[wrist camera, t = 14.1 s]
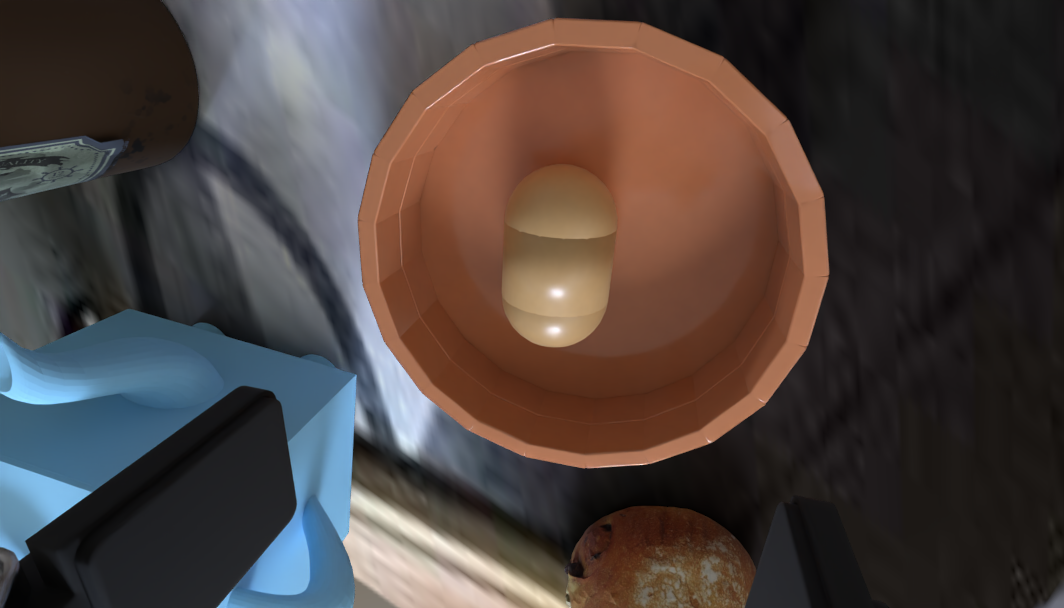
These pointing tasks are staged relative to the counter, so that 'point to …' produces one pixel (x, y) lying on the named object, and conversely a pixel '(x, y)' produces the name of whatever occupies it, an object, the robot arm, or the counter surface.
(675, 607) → the bread roll
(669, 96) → the terracotta dish
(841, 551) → the robot arm
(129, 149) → the olive oil
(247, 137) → the counter surface
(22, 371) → the light blue teapot
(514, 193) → the potato
